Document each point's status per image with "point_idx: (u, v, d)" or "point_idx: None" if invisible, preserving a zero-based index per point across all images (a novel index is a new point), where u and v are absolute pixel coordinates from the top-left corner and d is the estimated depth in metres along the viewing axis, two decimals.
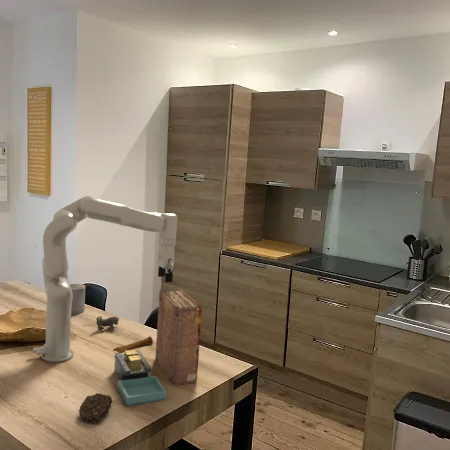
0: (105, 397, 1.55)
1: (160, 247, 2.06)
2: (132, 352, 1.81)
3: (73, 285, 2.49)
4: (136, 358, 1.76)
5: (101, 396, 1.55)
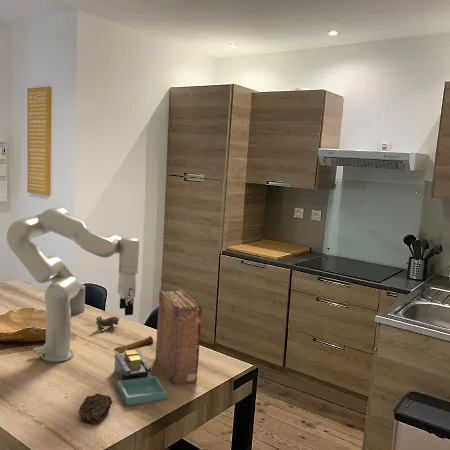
0: (105, 397, 1.55)
1: (120, 275, 1.86)
2: (132, 352, 1.81)
3: None
4: (136, 358, 1.76)
5: (101, 396, 1.55)
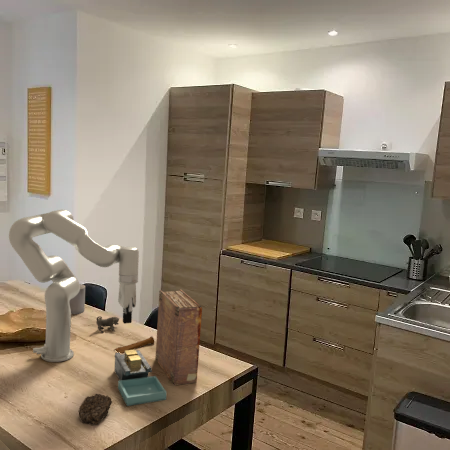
0: (105, 398, 1.54)
1: (121, 285, 1.86)
2: (132, 352, 1.81)
3: None
4: (136, 358, 1.76)
5: (101, 397, 1.55)
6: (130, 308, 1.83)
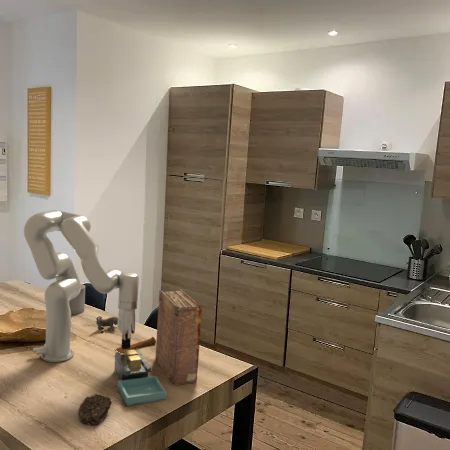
0: (104, 398, 1.54)
1: (120, 310, 1.86)
2: (132, 352, 1.81)
3: None
4: (136, 358, 1.76)
5: (100, 397, 1.54)
6: (129, 335, 1.83)
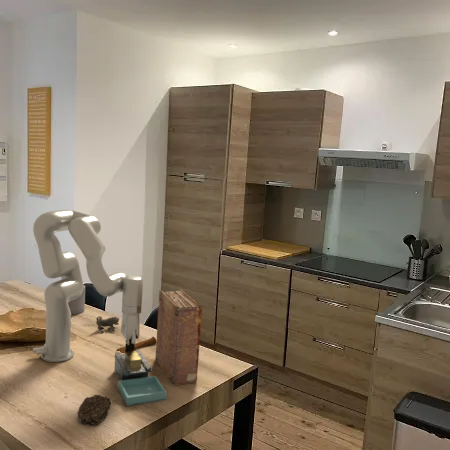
0: (104, 399, 1.54)
1: (124, 315, 1.81)
2: (133, 353, 1.80)
3: None
4: (136, 358, 1.76)
5: (100, 398, 1.54)
6: (133, 340, 1.78)
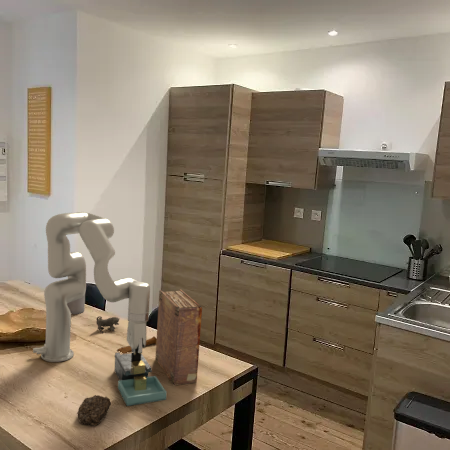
0: (103, 399, 1.54)
1: (130, 323, 1.73)
2: (139, 363, 1.71)
3: None
4: (141, 386, 1.69)
5: (99, 398, 1.54)
6: (140, 349, 1.70)
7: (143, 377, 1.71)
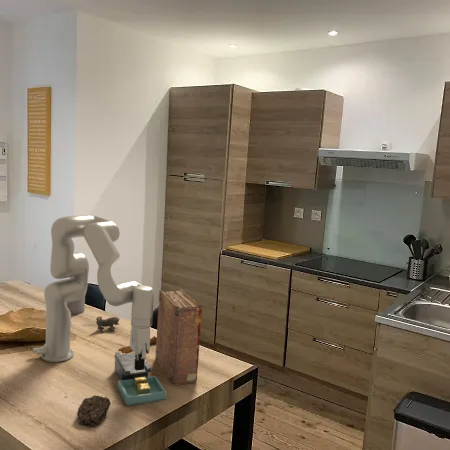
0: (103, 399, 1.53)
1: (133, 328, 1.68)
2: None
3: None
4: None
5: (99, 398, 1.53)
6: (143, 355, 1.65)
7: (143, 377, 1.71)
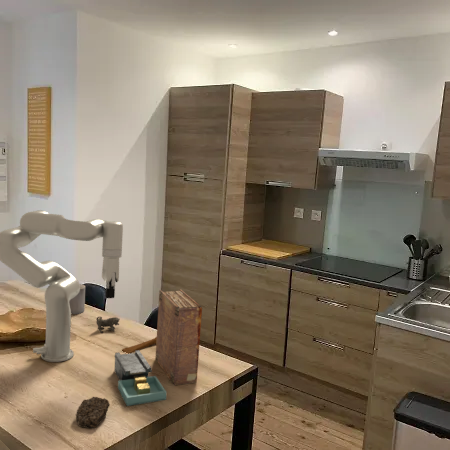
0: (102, 401, 1.52)
1: (104, 259, 1.85)
2: None
3: None
4: None
5: (98, 400, 1.53)
6: (113, 282, 1.82)
7: (143, 377, 1.71)
